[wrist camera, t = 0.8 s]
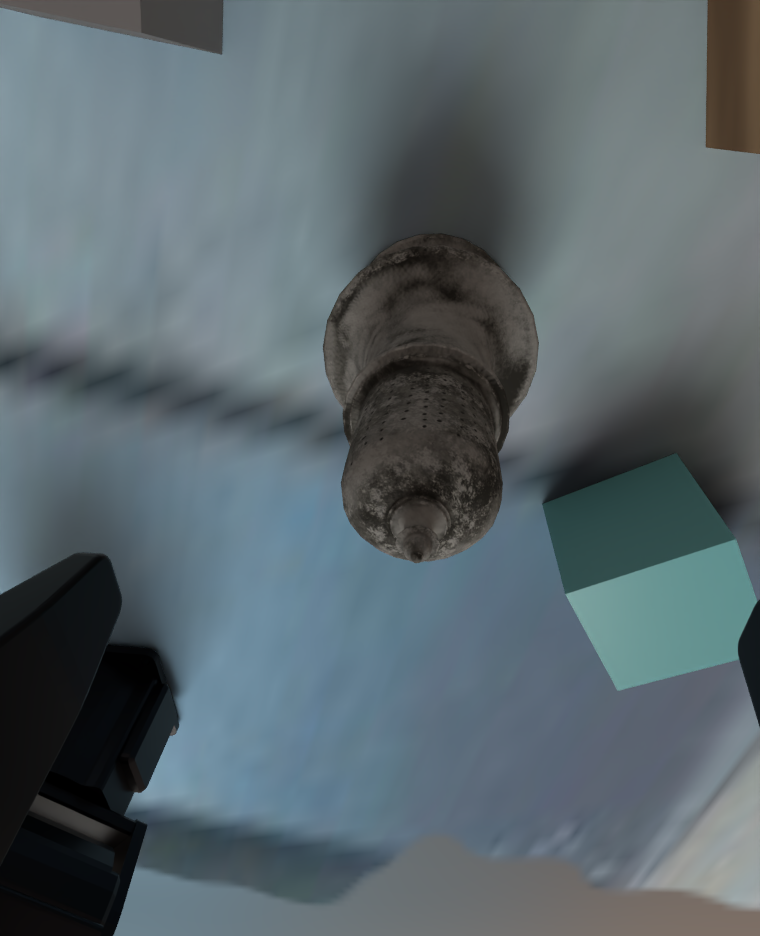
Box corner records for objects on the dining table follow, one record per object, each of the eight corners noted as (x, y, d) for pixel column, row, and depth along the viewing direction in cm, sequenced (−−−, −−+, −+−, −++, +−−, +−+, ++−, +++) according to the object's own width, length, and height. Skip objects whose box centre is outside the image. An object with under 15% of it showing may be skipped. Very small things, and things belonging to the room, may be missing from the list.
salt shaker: (323, 241, 18) (165, 410, 8) (517, 205, 17) (630, 346, 7) (361, 410, 21) (282, 695, 11) (528, 389, 20) (617, 681, 10)
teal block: (587, 590, 24) (618, 690, 20) (542, 502, 22) (565, 594, 18) (711, 550, 23) (774, 650, 18) (675, 451, 21) (736, 539, 16)
